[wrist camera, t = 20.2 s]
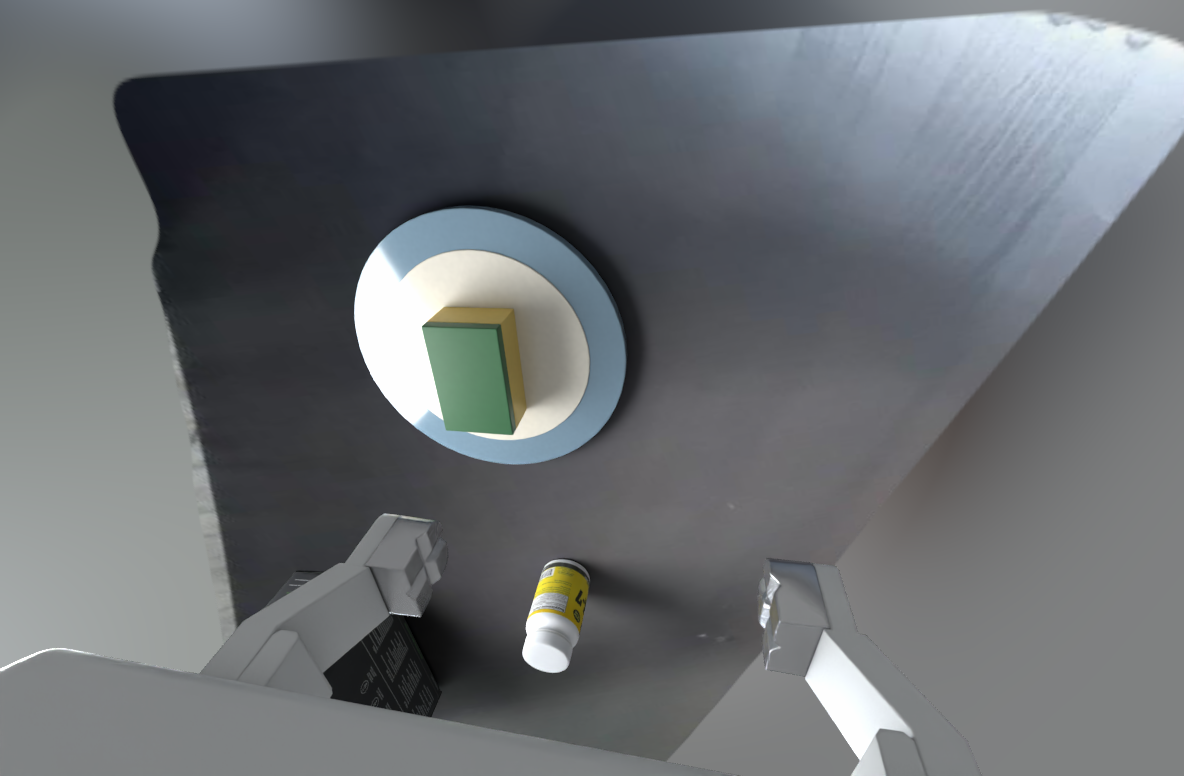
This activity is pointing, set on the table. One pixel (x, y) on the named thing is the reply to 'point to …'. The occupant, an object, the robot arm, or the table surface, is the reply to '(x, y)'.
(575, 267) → the plate
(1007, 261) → the table surface
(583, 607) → the supplement bottle
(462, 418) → the sponge
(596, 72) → the table surface
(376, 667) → the headset box
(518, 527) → the table surface
